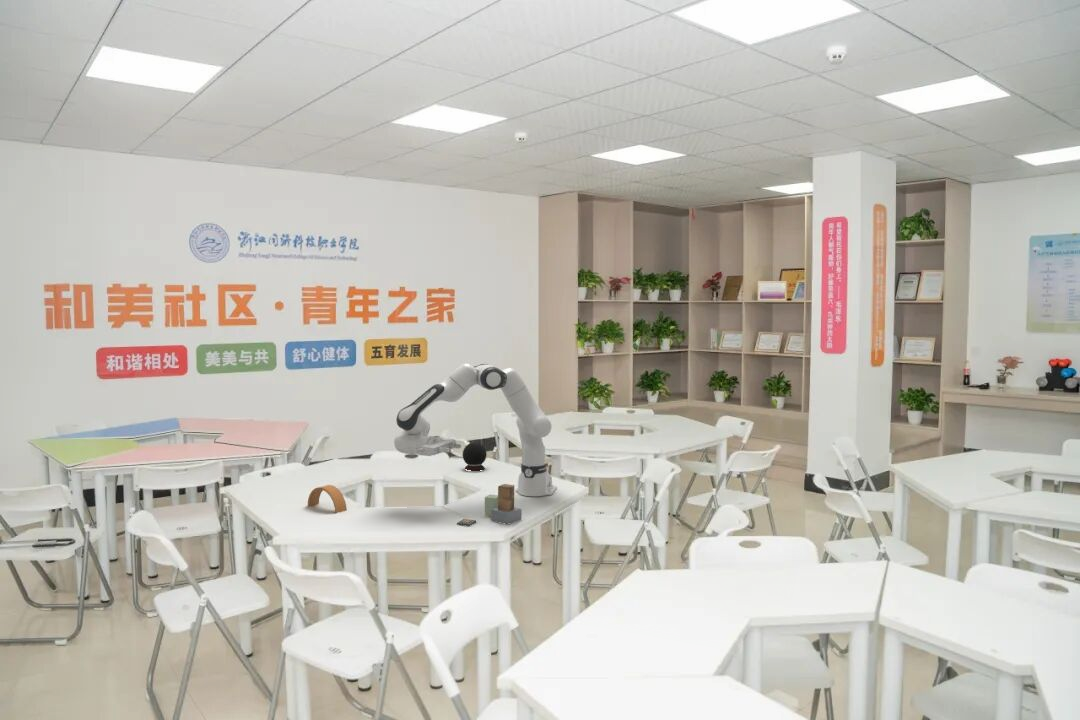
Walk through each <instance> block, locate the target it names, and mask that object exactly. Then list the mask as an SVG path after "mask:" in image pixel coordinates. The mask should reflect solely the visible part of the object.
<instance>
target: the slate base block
mask: <svg viewBox="0 0 1080 720" xmlns="http://www.w3.org/2000/svg"><path fill="white" fill-rule="evenodd" d="M490 520H492V521H491V522H495V521H497V522H496V523H499V522H501V523H500V524H503V523H505V524H504V525H510V524H513V523H515V521H516V522H518V520H519V521H521V520H522V508H520V507H516V506H514V509H512V510H510V511H502V510H498V507H497V508H494V509H491V516H490ZM512 522H513V523H512ZM509 523H510V524H509Z"/></svg>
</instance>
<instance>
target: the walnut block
mask: <svg viewBox="0 0 1080 720" xmlns="http://www.w3.org/2000/svg"><path fill="white" fill-rule="evenodd" d="M497 495H498V510H502V511H510V510H512V509H514V507H515V484H508V483H503V484H500V485H498V486H497Z"/></svg>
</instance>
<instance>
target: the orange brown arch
mask: <svg viewBox="0 0 1080 720" xmlns="http://www.w3.org/2000/svg"><path fill="white" fill-rule="evenodd" d="M339 489H340V488H338V487H336V486H335V485H332V484H327V485H324V486H323V485H322V486H319V487H315V488H314V489H313V490H311V492H310V493H309V496H308V499H307V507H311V506H310V505H312V506H316V505H319V504H320V498H321V494H322V492H325V493H326V494H327V495H328V496H329V498H330V499H331V501H332V502H333V507H334V513H335V514H339V513H342V512H346V511H347V503H346V500H345V497H344V495H343V493H342V492H341V491H340V490H339ZM318 503H319V504H318ZM315 504H316V505H315ZM338 512H339V513H338Z"/></svg>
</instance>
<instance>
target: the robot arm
mask: <svg viewBox="0 0 1080 720" xmlns="http://www.w3.org/2000/svg"><path fill="white" fill-rule="evenodd" d="M475 385H477V386H480V387H481V388H483V389H487V390H488V391H489V390H490V391H492V390H493V391H494V390H497V389H500V390H501V391H502V393H503V395H504V397H505V398H506V400H507V402H508V404H509V406H510V408H511V410H512V411H513V412H514V413H515V415H517V417H516V422H515V423H516V426H517V429H518V432H519V433H518V434H519V439H520V443H521V465H520V471H521V473H519V475H518V478H517V479H518V480H517V488H515V492H516V493H518V494H519V495H521V496H525V497H544V496H552V495H553V494H554V493H555V491H556V490H557V489H558V486H557V485H554V484H553V477H552V475H551V474H550V473H549V472H548V471H547V470H548V467H549V463H548V462H546V447H545V445H544V441H543V439H542V438H545V437H547V436H548V435H550V433H551V431H552V422H551V420H550V419H549V418H548V416H546V414H545V412H544V411H543V410H542V409H541V407H540V406H539V404H538V403H537V402H536V400H535V399H534V397H533V396H532V394H531V393H530V390H529V389H528V387H527V385H526V383H525V382H524V380H523V378H522V377H521V375H520V374H519V373H518V371H517V370H516V369H515V368H512V367H506V368H503V369H502V370H501V369H500V368H498V367H496V366H495V365H492V364H489V363H481V364H478V365H476V366H474V365H472V364H470V363H462V364H460V365H459V366H458V367H457V368H456V369H454V370H453V371H452V372H451V373H450V374H449V375H448V376H447V377H446V378H445V379H444V380H442V381H441V382H439V383H437V384H434V385H433V386H430V388H428V389H427V390H426V391H424V392H423V393H422V394H421V395H420V396H418V397H417V398H416V399H415V400H413V402H411V403H410V404H408V405H407V406H404V407H403V408H402V409H400V410H399V411H398V413H397V416H396V420H395V421H396V425H397V426H398V428H400V429H401V430H402V432H401V433H399V434H397V435H396V436H395V437H394V441H393V442H394V448H395V449H396V451H397V452H399V453H401V454H405V455H406V454H407V455H418V456H424V457H425V456H426V457H432V456H435V455H439V454H441V453H450V452H451V450H452V449H461V448H462V444H461V443H457V440H456V439H455V438H449V437H441V436H440V435H429V433H430V431H431V425H430V422H429V421H428V420H427V418H425V417H423V416H422V413H423V412H424V411H425V410H427V409H428V408H429V407H430V406H431V405H433V404H435V402H438V401H440V402H441V401H442V402H443V401H444V402H449V403H454V402H457V401H458V400H461V398H462V397H464V395H465V394H466V393H467V392H468V391H469V390H470V389H471V388H472V387H474V386H475Z"/></svg>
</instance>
